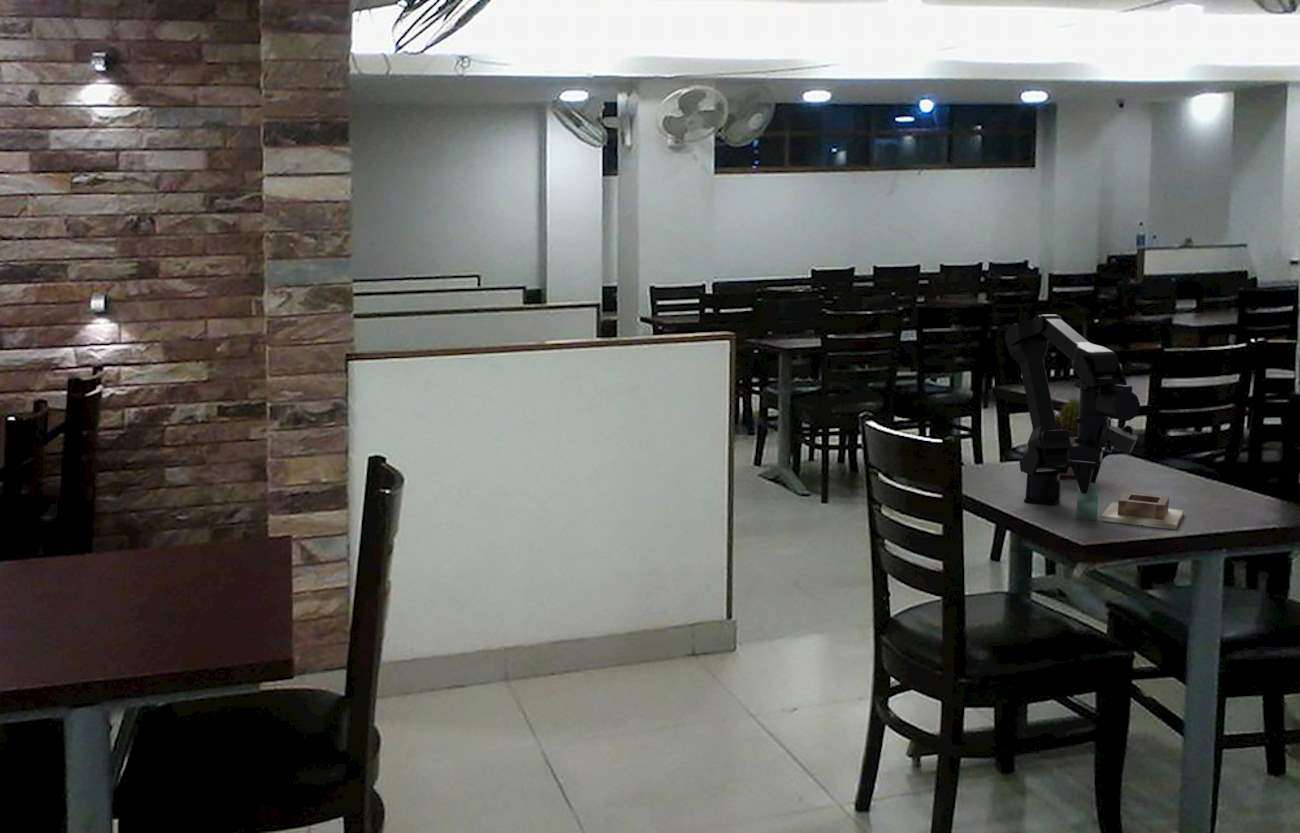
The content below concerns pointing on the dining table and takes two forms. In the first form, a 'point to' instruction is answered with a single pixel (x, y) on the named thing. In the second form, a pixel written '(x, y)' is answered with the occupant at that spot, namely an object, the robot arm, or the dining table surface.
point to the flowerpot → (1069, 427)
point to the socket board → (1143, 511)
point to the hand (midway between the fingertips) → (1088, 489)
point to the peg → (1088, 503)
